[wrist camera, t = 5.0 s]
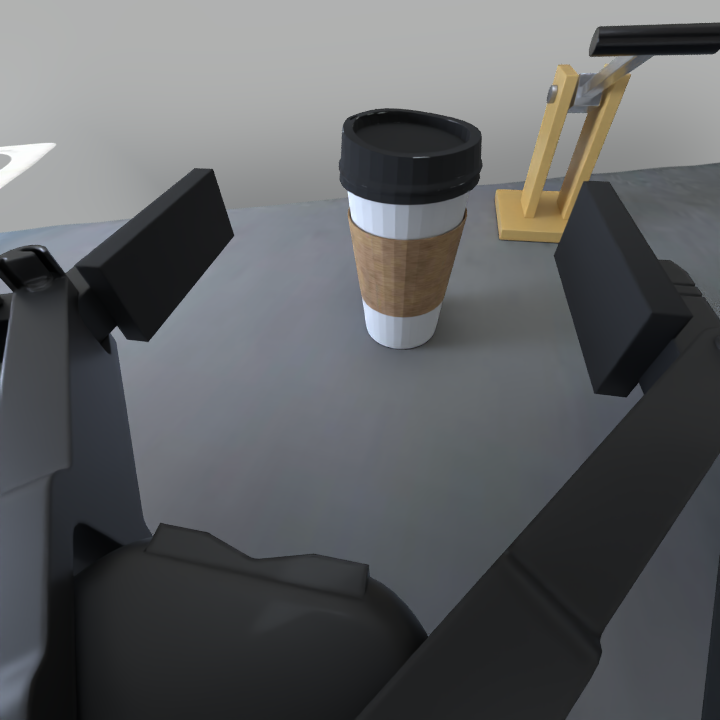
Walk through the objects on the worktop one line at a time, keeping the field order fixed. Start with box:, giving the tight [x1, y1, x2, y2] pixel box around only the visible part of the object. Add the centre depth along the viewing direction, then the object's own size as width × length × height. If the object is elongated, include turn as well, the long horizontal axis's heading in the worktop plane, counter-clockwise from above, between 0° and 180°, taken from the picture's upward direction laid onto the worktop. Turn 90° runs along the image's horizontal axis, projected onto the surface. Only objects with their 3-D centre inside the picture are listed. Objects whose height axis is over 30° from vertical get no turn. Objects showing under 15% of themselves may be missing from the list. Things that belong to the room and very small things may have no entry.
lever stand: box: [495, 64, 631, 243], centre depth 37 cm, size 10×10×14 cm
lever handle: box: [567, 23, 720, 113], centre depth 28 cm, size 14×7×2 cm, turn 169°
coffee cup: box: [339, 108, 482, 349], centre depth 26 cm, size 8×8×15 cm
